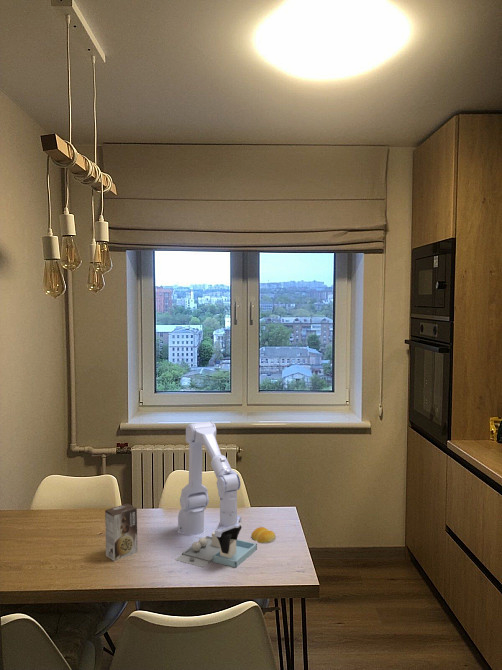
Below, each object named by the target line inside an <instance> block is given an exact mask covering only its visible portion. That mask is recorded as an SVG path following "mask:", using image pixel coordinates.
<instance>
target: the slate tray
mask: <svg viewBox="0 0 502 670" xmlns="http://www.w3.org/2000/svg"><path fill="white" fill-rule="evenodd" d="M204 538H206V539H207V545H206V546H205V547H201V549H200V550H199V551H197V552H196V551H194V550H193V549H192V546H190V547H188V548H187V549H185V550H184V551H183V552H182V553H181V555H179V556H178V557H177V558H174V559H175V561H177V562H182V563H184V564H189V565H193V566H196V567H198V568H199V567H200V568H204V567H205V566H206V565H208V564H209V563H212V562H213V560H212V556H213V555H214V554H215V553H217V552H218V551H219V550H220V548H219V547H215V546H212V536H209V535H206V536H205V537H204Z"/></svg>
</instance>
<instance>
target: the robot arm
mask: <svg viewBox="0 0 502 670" xmlns="http://www.w3.org/2000/svg"><path fill="white" fill-rule="evenodd" d="M185 442H186V444H188V445H189V446H188V483H187V484H186V485H185V486H184V487H183V488H182V489H181V491H180V493H181V494H180V497H179V504H180V509H179V512H178V515H177V516H178V518H177V522H178V523H177V531H176V533H177V534H180V535H181V534H182V535H184V536H189V537H194V538H199V537H200V536H202V535H203V534H205V533H206V532H208V531H209V530H210V529H208V528H206V527H205V510H206V509H207V508H206V507H208V505H209V503H210V498H209V493H208V491H209V490H208V488H207V486H205V485H204V484H203V446H204V447H205V450H206V451H207V454H209V456H210V458H211V461H210V465H211V466H210V467H211V468H212V471H213V472H214V475H215V477H216V479H217V481H216V487H217V491H218V493H217V494H218V498H219V523H218V524H217V526H216V529H214V532H215V536H216V537H217V538H218V540H219V543H220V546H221V550H222V553H226V554H228V552H229V544H230V539H234V540H236V541H237V539H238V538H239V534H240V532H241V530H242V525H241V524H240V523H241V522H242V515H238V491H239V490H240V489H241V485H242V484H241V483H242V482H241V479H240V475H239V474H238V473H237V472H236V471H235V470H233V469H232V467H231V465H230V463H229V461H228V459H227V456H225V455H223V454H222V452H221V450H220V447H219V444H218V442H217V427H216V424H215V422H213V421H212V420H211V421H203V422H194V423H188V424H187V426H186V427H185Z"/></svg>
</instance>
